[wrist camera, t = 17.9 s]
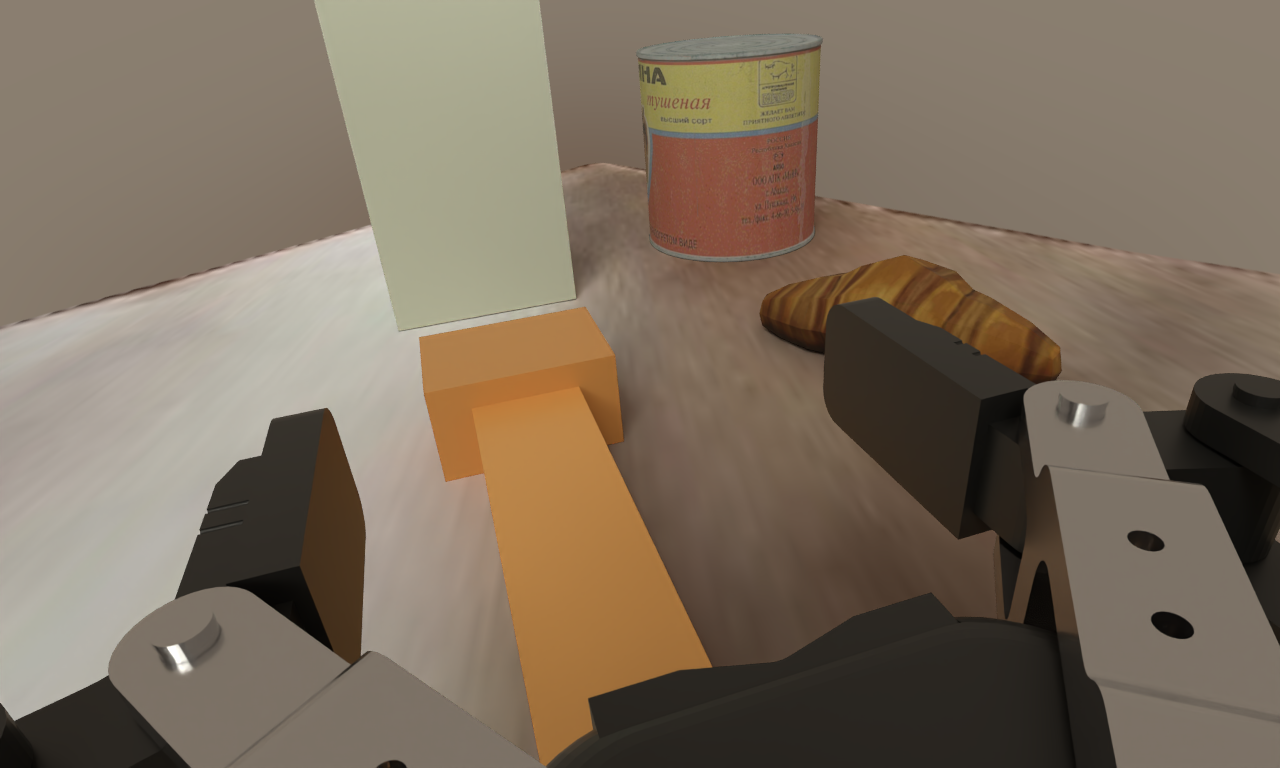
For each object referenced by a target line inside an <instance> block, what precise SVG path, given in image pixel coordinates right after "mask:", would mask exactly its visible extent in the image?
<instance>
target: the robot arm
mask: <svg viewBox="0 0 1280 768" xmlns="http://www.w3.org/2000/svg"><path fill="white" fill-rule="evenodd" d="M823 392H824V399H825V403H826V407H827V410H828V412H829V414H830V416H831V418H832V419H833V421H834V422H835V423H836V424H837V425H838V426H839V427H840V428H841V429H842V430H843V431H844V432H845V433H846V434H847V435H848V436H849V437H850V438H851V439H853V440H854V441H855V442H856V443H857V444H858V445H859V446H860V447H861V448H862V449H863V450H864V451H865V452H866V453H867V454H868V455H869V456H870V457H872V458H873V459H874V460H875V461H876V462H877V463H878V464H879V465H880V466H881V467H882V468H883V469H884V470H885V471H886V472H887V473H888V474H890V475H891V476H892V477H893V478H894V479H895V480H896V481H897V482H898V483H899V484H900V485H901V486H902V487H903V488H904V489H905V490H906V491H907V492H909V493H910V494H911V495H912V496H913V497H914V498H915V499H916V500H917V501H918V502H919V503H920V504H921V505H922V506H923V507H924V508H925V509H926V510H928V511H929V512H930V513H931V514H932V515H933V516H934V517H935V518H936V519H937V520H938V521H939V522H940V523H941V524H942V525H943V526H944V527H945V528H947V529H948V530H949V531H950V532H951V533H952V534H953V535H954V536H955V537H956V538H957V539H962V538H965V537H968V536H972V535H975V534H979V533H982V532H985V531H989V530H994V531H995V532H996V533H997V536H996V541H995V546H994V553H993V559H994V577H995V594H996V612H997V619H993V618H984V617H953V616H952V615H951V614H950V612H949V611H948V610H947V609H946V608H945V607H944V606H943V605H942V604H941V603H940V602H939V600H938V599H937V598H936V597H935V596H934V595H933V594H932V593H928V594H925V595H921V596H918V597H915V598H912V599H908V600H905V601H902V602H899V603H895V604H892V605H889V606H886V607H882V608H879V609H876V610H873V611H869V612H866V613H863V614H860V615H856V616H853V617H852V618H850V619H849V620H847V621H845V622H844V623H842V624H841V625H839V626H837V627H836V628H834V629H832V630H831V631H829V632H828V633H826V634H824V635H823V636H821V637H820V638H818V639H816V640H815V641H813V642H812V643H810V644H808V645H807V646H805V647H803V648H802V649H800V650H799V651H797V652H795V653H794V654H792V655H791V656H789V657H787V658H785V659H783V660H780V661H777V662H771V663H760V664H748V665H736V666H723V667H711V668H699V669H687V670H678V671H675V672H672V673H668V674H665V675H662V676H659V677H655V678H652V679H649V680H646V681H642V682H639V683H636V684H633V685H629V686H626V687H623V688H620V689H616V690H613V691H610V692H607V693H603V694H600V695H597V696H594V697H590V698H588V702H589V708H590V714H591V720H592V726H593V730H592V731H590V732H588V733H587V734H585V735H584V736H582V737H580V738H579V739H577V740H576V741H575V742H573V743H572V744H571V745H569V746H568V747H567V748H565V749H564V750H563V751H562V752H560V753H559V754H558V755H557V756H556V757H555V758H554V759H553V760H552V761H551V762H549V763H548V764H547V765H546V766H544V765H543V764H541V763H540V762H538V761H537V760H535V759H534V758H533V757H531V756H530V755H528V754H527V753H525V752H524V751H522V750H521V749H519V748H518V747H517V746H515V745H514V744H512V743H511V742H509V741H508V740H506V739H505V738H503V737H502V736H501V735H499V734H498V733H496V732H495V731H493V730H492V729H490V728H489V727H487V726H486V725H485V724H483V723H482V722H480V721H479V720H477V719H476V718H474V717H473V716H471V715H470V714H469V713H467V712H466V711H464V710H463V709H461V708H460V707H458V706H457V705H455V704H454V703H453V702H451V701H450V700H448V699H447V698H445V697H444V696H442V695H441V694H440V693H438V692H437V691H435V690H434V689H432V688H431V687H429V686H428V685H426V684H425V683H424V682H422V681H421V680H419V679H418V678H416V677H415V676H413V675H412V674H410V673H409V672H408V671H406V670H405V669H403V668H402V667H400V666H399V665H397V664H396V663H394V662H393V661H392V660H390V659H389V658H387V657H385V656H384V655H382V654H379V653H377V652H373V651H368V652H366V653H364V654H363V655H362V656H361V635H362V611H363V588H364V564H365V540H366V532H365V521H364V515H363V510H362V505H361V501H360V497H359V494H358V491H357V488H356V485H355V482H354V479H353V475H352V472H351V469H350V466H349V463H348V460H347V457H346V454H345V451H344V448H343V445H342V442H341V439H340V436H339V433H338V430H337V427H336V424H335V421H334V418H333V416H332V414H331V412H330V411H329V409H328V408H323V409H319V410H314V411H309V412H304V413H299V414H294V415H289V416H284V417H279V418H275V419H272V421H271V423H270V426H269V430H268V434H267V437H266V441H265V444H264V448H263V452H262V455H261V456H258V457H253V458H248V459H244V460H239V461H238V462H237V463H236V464H235V465H234V466H233V467H232V468H231V469H230V470H229V472H228V473H227V474H226V475H225V476H224V477H223V478H222V479H221V480H220V481H219V482H218V483H217V484H216V485H215V488H214V491H213V493H212V496H211V499H210V502H209V505H208V508H207V511H208V514H205V516H204V519H203V522H202V524H201V527H200V535H198V536H197V538H196V541H195V544H194V547H193V550H192V552H191V555H190V558H189V561H188V564H187V566H186V569H185V572H184V575H183V578H182V580H181V583H180V586H179V589H178V592H177V595H176V597H175V600H173V601H171V602H169V603H167V604H165V605H164V606H162V607H160V608H158V609H157V610H155V611H154V612H152V613H151V614H149V615H148V616H146V617H145V618H144V619H142V620H141V621H140V622H139V623H137V624H136V625H135V626H134V627H133V628H132V629H131V630H130V631H129V632H128V633H127V634H126V635H125V636H124V637H123V639H122V640H121V641H120V642H119V644H118V645H117V647H116V649H115V650H114V652H113V654H112V656H111V659H110V662H109V668H108V673H109V675H108V676H106V677H105V678H103V679H101V680H100V681H98V682H96V683H94V684H92V685H90V686H88V687H86V688H84V689H82V690H80V691H78V692H75V693H73V694H71V695H69V696H67V697H65V698H63V699H60V700H58V701H56V702H54V703H52V704H50V705H48V706H46V707H43V708H41V709H39V710H37V711H35V712H33V713H31V714H28V715H26V716H24V717H22V718H20V719H18V720H16V721H14V720H13V719H12V718H11V716H10V715H9V714H8V712H7V711H6V709H5V708H4V707H3V706H2V704H1V703H0V768H1280V543H1279V542H1277V541H1276V540H1275V538H1276V536H1277V533H1278V531H1279V529H1280V381H1279V380H1275V379H1271V378H1267V377H1262V376H1256V375H1249V374H1238V373H1224V374H1214V375H1209V376H1206V377H1203V378H1201V379H1199V380H1198V381H1197V382H1196V383H1195V385H1194V388H1193V391H1192V394H1191V397H1190V400H1189V403H1188V406H1187V410H1178V411H1152V412H1143V411H1142V410H1141V408H1140V406H1139V405H1138V404H1137V403H1136V402H1135V401H1133V400H1132V399H1130V398H1129V397H1127V396H1126V395H1124V394H1122V393H1120V392H1118V391H1115V390H1113V389H1110V388H1107V387H1104V386H1101V385H1097V384H1093V383H1087V382H1081V381H1069V380H1057V381H1048V382H1043V383H1039V384H1035V383H1033V382H1031V381H1030V380H1028V379H1026V378H1025V377H1023V376H1021V375H1020V374H1018V373H1016V372H1015V371H1013V370H1011V369H1010V368H1008V367H1006V366H1005V365H1003V364H1001V363H999V362H998V361H996V360H994V359H993V358H991V357H989V356H988V355H986V354H983V355H981V353H980V351H979V350H978V349H976V348H974V347H972V346H971V345H969V344H967V343H965V344H963V343H962V340H961V339H959V338H957V337H956V336H954V335H952V334H951V333H949V332H947V331H946V330H944V329H942V328H940V327H938V326H934V325H931V324H928V323H924V322H921V321H918V320H916V319H914V318H912V317H911V316H909V315H907V314H906V313H904V312H902V311H901V310H899V309H897V308H896V307H894V306H892V305H891V304H889V303H887V302H886V301H884V300H883V299H881V298H879V297H871V298H867V299H862V300H857V301H852V302H847V303H842V304H837V305H834V306H832V307H831V308H830V310H829V312H828V315H827V320H826V338H825V361H824V383H823Z"/></svg>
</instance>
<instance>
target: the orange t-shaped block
mask: <svg viewBox="0 0 1280 768" xmlns="http://www.w3.org/2000/svg"><path fill="white" fill-rule="evenodd" d="M419 341H420V353H421V366H422V378H423V390H424V396H425V400H426V404H427V408H428V412H429V416H430V420H431V424H432V428H433V432H434V436H435V440H436V444H437V448H438V452H439V456H440V460H441V464H442V468H443V472H444V476H445V481H446V482H447V481H451V480H456V479H460V478H464V477H469V476H473V475H478V474H482V473H484V475H485V480H486V485H487V490H488V496H489V501H490V506H491V511H492V516H493V521H494V527H495V532H496V537H497V542H498V547H499V553H500V558H501V563H502V568H503V573H504V578H505V584H506V589H507V594H508V599H509V604H510V609H511V615H512V620H513V625H514V630H515V635H516V641H517V646H518V651H519V656H520V661H521V666H522V672H523V677H524V682H525V687H526V692H527V698H528V703H529V708H530V713H531V718H532V723H533V729H534V734H535V739H536V744H537V749H538V754H539V760H540V763H541V764H543V765H544V766H546V765H547V764H548V763H549V762H551V761H552V760H553V759H554V758H555V757H556V756H557V755H558V754H559V753H560V752H562V751H563V750H564V749H565V748H567V747H568V746H569V745H571V744H572V743H573V742H575V741H576V740H577V739H579V738H580V737H582V736H584V735H585V734H587V733H588V732H590V731H592V730H593V726H592V720H591V714H590V708H589V702H588V698H590V697H594V696H597V695H600V694H603V693H607V692H610V691H613V690H616V689H620V688H623V687H626V686H629V685H633V684H636V683H639V682H642V681H646V680H649V679H652V678H655V677H659V676H662V675H665V674H668V673H672V672H675V671H678V670H687V669H699V668H711V667H712V665H711V663H710V661H709V659H708V657H707V655H706V652H705V650H704V648H703V646H702V644H701V642H700V640H699V638H698V636H697V634H696V631H695V629H694V627H693V625H692V623H691V621H690V619H689V617H688V615H687V613H686V610H685V608H684V606H683V604H682V602H681V600H680V598H679V596H678V594H677V592H676V589H675V587H674V585H673V583H672V581H671V579H670V577H669V575H668V573H667V571H666V568H665V566H664V564H663V562H662V560H661V558H660V556H659V554H658V552H657V550H656V547H655V545H654V543H653V541H652V539H651V537H650V535H649V533H648V531H647V529H646V526H645V524H644V522H643V520H642V518H641V516H640V514H639V512H638V510H637V507H636V505H635V503H634V501H633V499H632V497H631V495H630V493H629V491H628V489H627V486H626V484H625V482H624V480H623V478H622V476H621V474H620V472H619V470H618V468H617V465H616V463H615V461H614V459H613V457H612V455H611V453H610V451H609V449H608V447H607V445H610V444H615V443H619V442H623V441H624V438H623V428H622V418H621V409H620V399H619V389H618V379H617V369H616V359H615V354H614V353H613V351H612V349H611V348H610V346H609V344H608V343H607V341H606V340H605V338H604V336H603V335H602V333H601V331H600V330H599V328H598V327H597V325H596V323H595V322H594V320H593V319H592V317H591V315H590V314H589V312H588V310H587V309H586V307H582V308H576V309H571V310H565V311H560V312H554V313H549V314H544V315H538V316H533V317H527V318H522V319H516V320H511V321H505V322H500V323H495V324H489V325H484V326H478V327H473V328H467V329H462V330H457V331H451V332H446V333H440V334H435V335H429V336H424V337H419Z"/></svg>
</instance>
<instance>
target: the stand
mask: <svg viewBox="0 0 1280 768" xmlns="http://www.w3.org/2000/svg"><path fill="white" fill-rule="evenodd" d="M314 2H315V6H316V10H317V14H318V17H319V22H320V26H321V29H322V33H323V37H324V41H325V45H326V49H327V53H328V56H329V61H330V65H331V68H332V72H333V76H334V80H335V84H336V88H337V92H338V95H339V100H340V103H341V107H342V111H343V115H344V119H345V123H346V127H347V131H348V135H349V139H350V143H351V147H352V150H353V154H354V158H355V162H356V166H357V170H358V174H359V178H360V182H361V186H362V189H363V193H364V197H365V201H366V205H367V209H368V213H369V217H370V221H371V225H372V228H373V232H374V236H375V240H376V244H377V248H378V252H379V256H380V260H381V264H382V268H383V271H384V275H385V279H386V283H387V287H388V291H389V295H390V299H391V303H392V307H393V310H394V314H395V318H396V322H397V326H398V330H399V331H401V330H407V329H412V328H418V327H423V326H429V325H434V324H440V323H445V322H451V321H456V320H462V319H467V318H473V317H478V316H484V315H489V314H495V313H500V312H506V311H511V310H517V309H523V308H528V307H534V306H539V305H545V304H550V303H556V302H561V301H567V300H572V299H576V292H575V284H574V276H573V268H572V260H571V252H570V244H569V236H568V228H567V220H566V212H565V204H564V196H563V188H562V180H561V172H560V164H559V157H558V148H557V140H556V132H555V124H554V116H553V108H552V100H551V93H550V85H549V77H548V68H547V60H546V52H545V44H544V36H543V29H542V20H541V12H540V4H539V0H314Z"/></svg>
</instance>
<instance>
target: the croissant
mask: <svg viewBox="0 0 1280 768" xmlns="http://www.w3.org/2000/svg"><path fill="white" fill-rule="evenodd" d="M871 297H879V298H881V299H883V300H884V301H886V302H887V303H889V304H891V305H892V306H894V307H896V308H897V309H899V310H901V311H902V312H904V313H906V314H907V315H909V316H911V317H912V318H914V319H916V320H918V321H921V322H924V323H928V324H931V325H934V326H938V327H940V328H942V329H944V330H946V331H947V332H949V333H951V334H952V335H954V336H956V337H957V338H959V339H961V340H962V343H963V344H965V343H967V344H969V345H971V346H972V347H974V348H976V349H978V350H979V351H980V353H981V355H983V354H986V355H988V356H989V357H991V358H993V359H994V360H996V361H998V362H999V363H1001V364H1003V365H1005V366H1006V367H1008V368H1010V369H1011V370H1013V371H1015V372H1016V373H1018V374H1020V375H1021V376H1023V377H1025V378H1026V379H1028V380H1030V381H1031V382H1033V383H1035V384H1039V383H1043V382H1048V381H1055V380H1056V379H1057V377H1058V376H1059V374H1060V373H1061V371H1062V369H1061V354H1060V347H1059V346H1058V345H1057V344H1056V343H1055V342H1053V341H1052V340H1051V339H1050V338H1049V337H1048V336H1047V335H1045V334H1044V333H1043V332H1042V331H1041V330H1040V329H1038V328H1037V327H1036V326H1035V325H1034V324H1033V323H1031V322H1030V321H1028V320H1027V319H1025V318H1023V317H1022V316H1020V315H1018V314H1017V313H1015V312H1014V311H1012V310H1010V309H1009V308H1007V307H1005V306H1004V305H1002V304H1001V303H999V302H997V301H996V300H994V299H992V298H991V297H988V296H986V295H984V294H982V293H980V292H977V291H975V290H973V289H972V288H971V287H970V286H969V285H968V284H967V282H966V281H965V280H964V279H963V278H962V277H961V276H960V275H959V274H958V273H957V272H956V271H953V270H950V269H947V268H945V267H942V266H939V265H936V264H933V263H930V262H927V261H924V260H921V259H917V258H913V257H910V256H906V255H903V256H899V257H895V258H891V259H887V260H884V261H880V262H876V263H872V264H868V265H864V266H861V267H859V268H857V269H855V270H853V271H851V272H849V273H841V274H836V275H830V276H825V277H820V278H816V279H811V280H807V281H802V282H798V283H793V284H789V285H787V286H785V287H782V288H780V289H778V290H776V291H774V292H771V293H769V294H767V295H766V297H765V298H764V300H763V302H762V306H761V310H760V317H761V321H762V325H763V326H764V327H766V328H767V329H768V330H770V331H771V332H773V333H774V334H776V335H777V336H779V337H780V338H782V339H785V340H787V341H790V342H792V343H795V344H797V345H799V346H802V347H804V348H807V349H810V350H814V351H819V352H824V353H825V338H826V320H827V315H828V312H829V310H830V308H831V307H832V306H834V305H837V304H842V303H847V302H852V301H857V300H862V299H867V298H871Z"/></svg>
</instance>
